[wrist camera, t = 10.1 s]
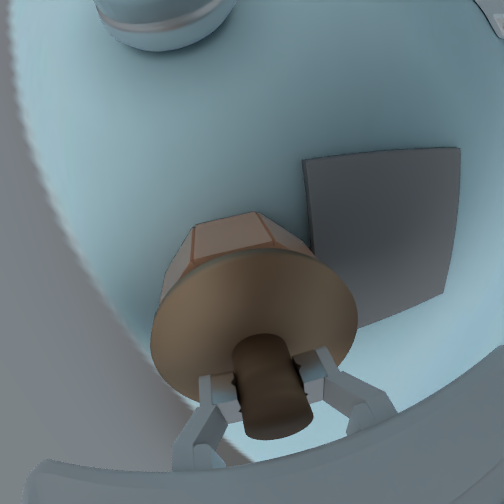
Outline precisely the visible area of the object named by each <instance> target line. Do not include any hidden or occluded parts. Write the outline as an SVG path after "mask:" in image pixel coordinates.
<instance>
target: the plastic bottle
mask: <svg viewBox="0 0 504 504" xmlns="http://www.w3.org/2000/svg"><path fill="white" fill-rule="evenodd" d="M93 1H94V3H95V4H96V7H97V11H98V14H99V17H100V19H101V21H102V23H103V24H104V26H105V28H106V29H107V31H108V32H109V33H110V35H111V36H112V37H114V38H115V39H116V40H118V41H119V42H122V43H124V44H126V45H129V46H131V47H134V48H137V49H141V50H145V51H158V52H160V51H169V50H174V49H178V48H183V47H185V46H188V45H191V44H193V43H196V42H197V41H199V40H201V39H203V38H205V37H206V36H208V35H209V34H210V33H212V32H213V31H214V30H216V29H217V27H218V26H219V25H220V24H221V23H222V22H223V21H224V20H225V18H226V17H227V16H228V14H229V13H230V11H231V10H232V8H233V7H234V6H235V3H236V1H237V0H93Z"/></svg>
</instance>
